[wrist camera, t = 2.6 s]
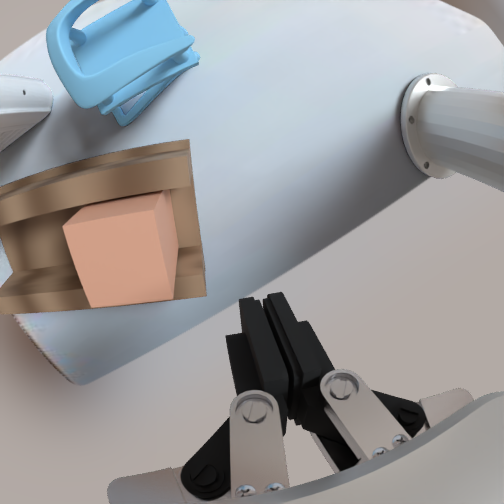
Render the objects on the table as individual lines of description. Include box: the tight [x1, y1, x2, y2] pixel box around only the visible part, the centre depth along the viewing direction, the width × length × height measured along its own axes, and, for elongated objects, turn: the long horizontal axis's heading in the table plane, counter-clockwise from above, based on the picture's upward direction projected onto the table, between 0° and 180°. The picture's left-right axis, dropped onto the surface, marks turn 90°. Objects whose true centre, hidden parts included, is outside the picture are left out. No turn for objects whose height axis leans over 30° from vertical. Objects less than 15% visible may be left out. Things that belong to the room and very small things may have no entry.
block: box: [62, 189, 179, 308], centre depth 19 cm, size 6×6×8 cm
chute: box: [0, 139, 207, 314], centre depth 20 cm, size 22×12×6 cm, turn 93°
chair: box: [46, 0, 200, 126], centre depth 12 cm, size 8×8×12 cm
